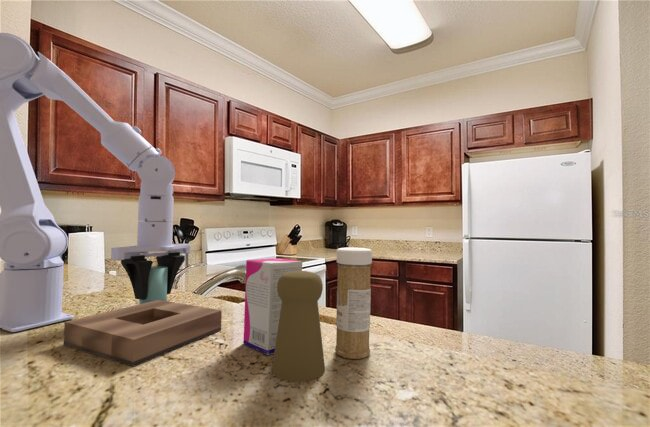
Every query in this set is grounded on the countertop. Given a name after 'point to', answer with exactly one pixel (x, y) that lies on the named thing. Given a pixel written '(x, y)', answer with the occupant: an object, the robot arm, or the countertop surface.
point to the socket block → (141, 330)
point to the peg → (156, 284)
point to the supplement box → (264, 301)
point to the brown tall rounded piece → (299, 328)
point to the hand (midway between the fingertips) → (153, 296)
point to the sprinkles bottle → (353, 302)
